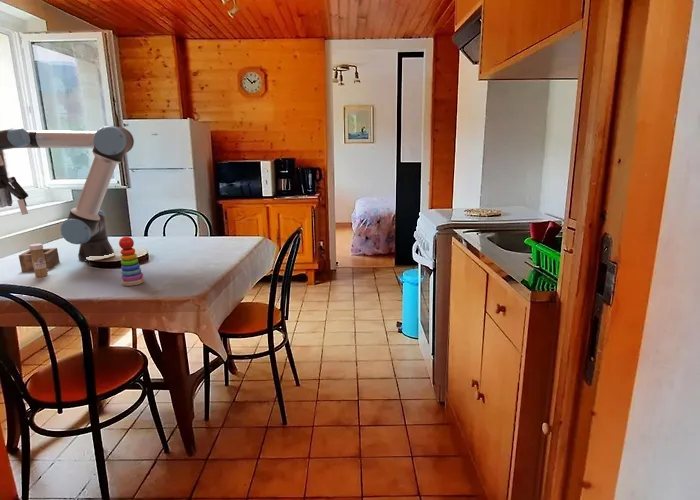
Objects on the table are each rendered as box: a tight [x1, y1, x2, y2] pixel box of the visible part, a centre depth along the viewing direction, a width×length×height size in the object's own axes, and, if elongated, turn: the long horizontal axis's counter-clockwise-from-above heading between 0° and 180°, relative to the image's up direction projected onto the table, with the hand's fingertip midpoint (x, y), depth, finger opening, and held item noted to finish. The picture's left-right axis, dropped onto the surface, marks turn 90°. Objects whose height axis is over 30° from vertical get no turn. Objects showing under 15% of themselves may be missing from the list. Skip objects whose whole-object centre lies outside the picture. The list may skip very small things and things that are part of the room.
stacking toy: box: [118, 236, 145, 287], centre depth 169 cm, size 8×8×19 cm
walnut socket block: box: [18, 247, 61, 272], centre depth 196 cm, size 11×11×7 cm
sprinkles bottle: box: [28, 243, 49, 278], centre depth 182 cm, size 5×5×14 cm
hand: (10, 216), depth 186 cm, fingers open, 13 cm apart
